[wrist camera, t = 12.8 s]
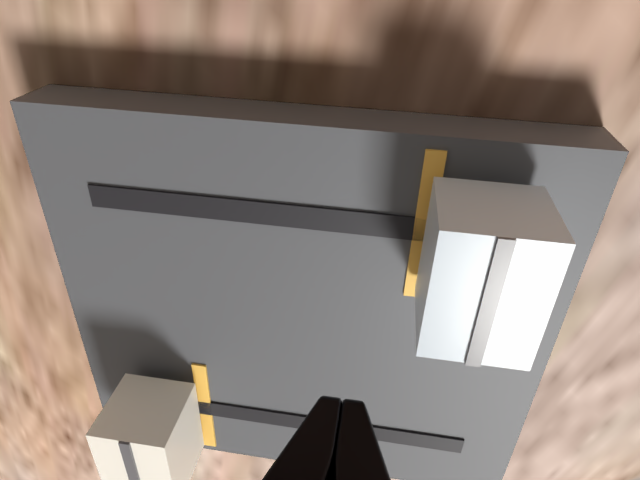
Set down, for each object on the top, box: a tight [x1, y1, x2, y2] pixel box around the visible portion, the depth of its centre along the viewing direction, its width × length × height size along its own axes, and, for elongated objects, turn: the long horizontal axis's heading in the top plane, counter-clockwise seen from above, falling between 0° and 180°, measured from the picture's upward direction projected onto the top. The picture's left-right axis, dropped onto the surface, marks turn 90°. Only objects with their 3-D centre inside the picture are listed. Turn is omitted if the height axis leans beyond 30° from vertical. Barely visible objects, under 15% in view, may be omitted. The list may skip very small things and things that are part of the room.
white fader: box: [415, 177, 576, 371], centre depth 13 cm, size 3×4×3 cm
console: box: [10, 84, 629, 480], centre depth 19 cm, size 18×16×2 cm
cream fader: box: [86, 373, 204, 480], centre depth 20 cm, size 3×4×3 cm
